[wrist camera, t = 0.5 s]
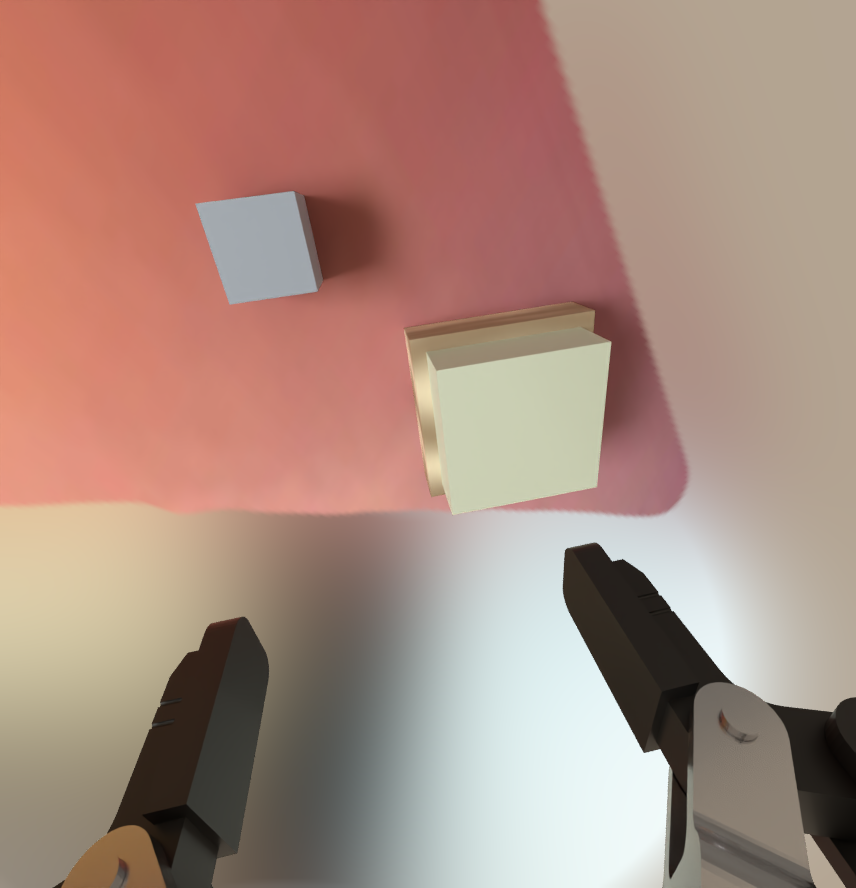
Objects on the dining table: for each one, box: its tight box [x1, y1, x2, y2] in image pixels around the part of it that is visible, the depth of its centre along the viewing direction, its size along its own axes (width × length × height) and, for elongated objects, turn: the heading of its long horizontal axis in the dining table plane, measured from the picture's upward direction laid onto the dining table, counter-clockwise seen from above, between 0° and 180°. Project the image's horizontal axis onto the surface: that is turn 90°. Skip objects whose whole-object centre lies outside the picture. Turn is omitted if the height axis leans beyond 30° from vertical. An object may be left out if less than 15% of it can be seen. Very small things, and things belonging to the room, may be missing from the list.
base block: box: [404, 302, 595, 497], centre depth 33 cm, size 13×13×4 cm
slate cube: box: [196, 191, 323, 304], centre depth 25 cm, size 5×5×5 cm
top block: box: [426, 327, 611, 515], centre depth 30 cm, size 11×11×4 cm
